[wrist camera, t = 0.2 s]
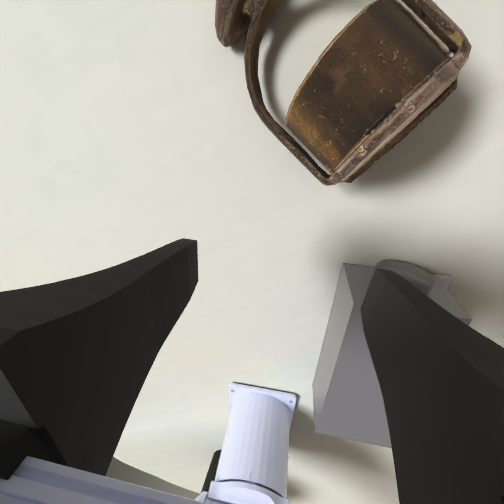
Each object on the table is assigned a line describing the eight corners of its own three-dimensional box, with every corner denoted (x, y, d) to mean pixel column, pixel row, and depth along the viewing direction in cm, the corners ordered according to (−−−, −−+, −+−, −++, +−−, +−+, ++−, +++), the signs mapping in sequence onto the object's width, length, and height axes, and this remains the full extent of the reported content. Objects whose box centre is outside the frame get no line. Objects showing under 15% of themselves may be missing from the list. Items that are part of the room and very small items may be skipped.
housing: (388, 397, 28) (404, 450, 23) (312, 384, 29) (314, 432, 24) (457, 262, 19) (502, 306, 15) (346, 250, 20) (358, 288, 16)
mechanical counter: (282, 238, 15) (515, 165, 10) (123, -27, 10) (457, -545, 4) (302, 185, 20) (459, 118, 15) (206, -6, 15) (401, -222, 9)
